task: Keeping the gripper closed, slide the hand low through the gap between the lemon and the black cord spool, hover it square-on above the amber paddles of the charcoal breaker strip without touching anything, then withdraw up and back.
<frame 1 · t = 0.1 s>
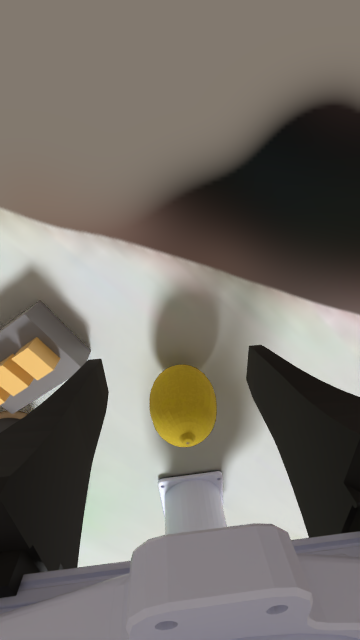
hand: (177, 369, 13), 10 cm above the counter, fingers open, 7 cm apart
cord spool: (17, 430, 27), on the counter
lemon: (178, 371, 25), on the counter
breaker strip: (34, 348, 23), on the counter
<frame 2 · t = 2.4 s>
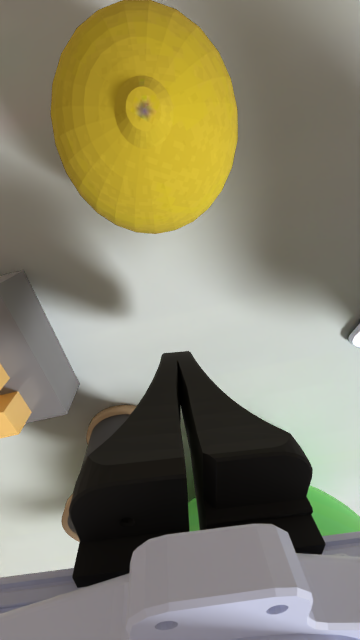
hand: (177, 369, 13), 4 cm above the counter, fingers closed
cord spool: (126, 432, 20), on the counter
lemon: (152, 160, 12), on the counter
green toy teapot: (242, 496, 25), on the counter
breaker strip: (9, 341, 16), on the counter
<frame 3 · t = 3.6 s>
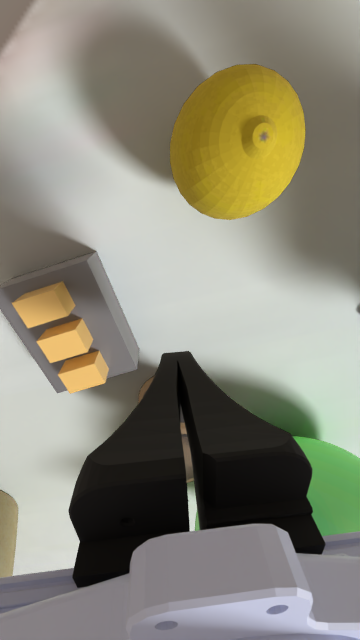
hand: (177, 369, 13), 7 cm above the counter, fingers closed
cord spool: (170, 397, 23), on the counter
lemon: (212, 164, 15), on the counter
green toy teapot: (265, 460, 28), on the counter
breaker strip: (82, 315, 19), on the counter
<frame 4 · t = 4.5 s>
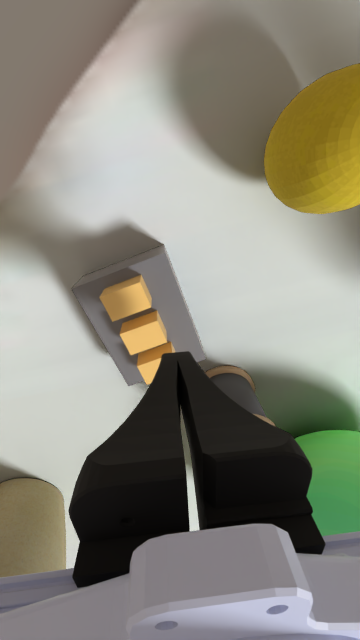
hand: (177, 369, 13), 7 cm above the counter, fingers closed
cord spool: (222, 391, 23), on the counter
lemon: (288, 161, 16), on the counter
green toy teapot: (307, 454, 28), on the counter
breaker strip: (146, 309, 19), on the counter
plant pot: (31, 496, 28), on the counter
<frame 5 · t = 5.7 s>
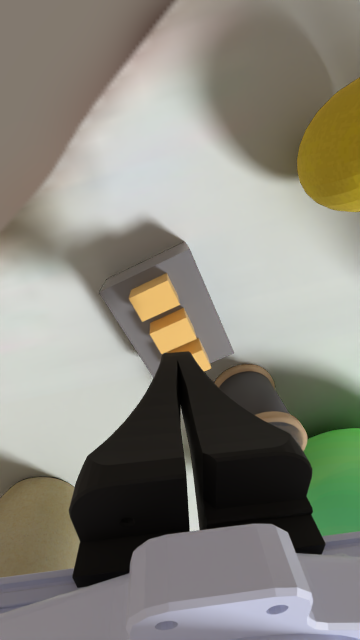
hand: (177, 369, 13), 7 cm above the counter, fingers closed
cord spool: (242, 389, 23), on the counter
lemon: (316, 159, 16), on the counter
green toy teapot: (322, 453, 29), on the counter
breaker strip: (169, 307, 20), on the counter
plant pot: (47, 495, 28), on the counter
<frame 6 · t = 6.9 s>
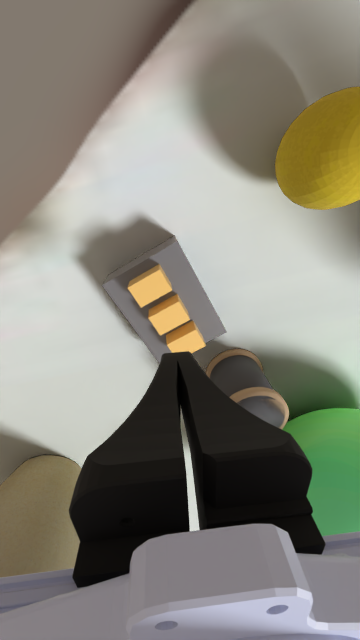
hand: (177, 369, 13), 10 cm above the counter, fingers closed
cord spool: (233, 372, 26), on the counter
lemon: (294, 164, 18), on the counter
green toy teapot: (309, 434, 31), on the counter
breaker strip: (166, 296, 22), on the counter
plant pot: (54, 473, 30), on the counter
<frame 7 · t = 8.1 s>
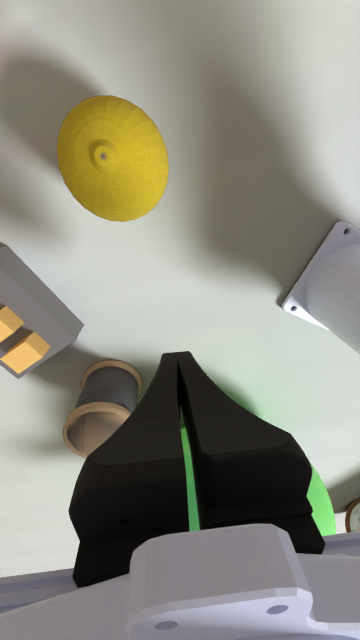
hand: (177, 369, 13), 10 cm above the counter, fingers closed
cord spool: (113, 383, 25), on the counter
lemon: (125, 172, 17), on the counter
green toy teapot: (211, 445, 30), on the counter
breaker strip: (23, 307, 21), on the counter
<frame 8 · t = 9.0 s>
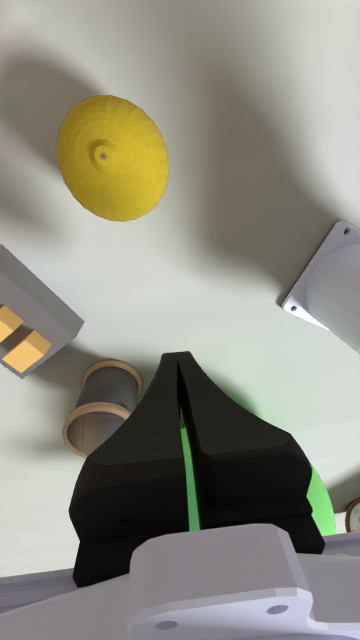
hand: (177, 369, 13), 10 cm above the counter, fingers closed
cord spool: (113, 383, 25), on the counter
lemon: (125, 172, 17), on the counter
green toy teapot: (211, 445, 30), on the counter
breaker strip: (23, 307, 21), on the counter
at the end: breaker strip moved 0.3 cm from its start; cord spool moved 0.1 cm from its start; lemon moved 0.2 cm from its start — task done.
